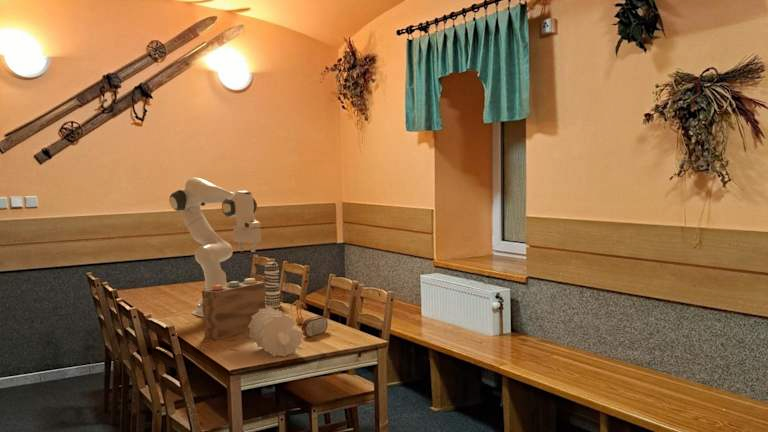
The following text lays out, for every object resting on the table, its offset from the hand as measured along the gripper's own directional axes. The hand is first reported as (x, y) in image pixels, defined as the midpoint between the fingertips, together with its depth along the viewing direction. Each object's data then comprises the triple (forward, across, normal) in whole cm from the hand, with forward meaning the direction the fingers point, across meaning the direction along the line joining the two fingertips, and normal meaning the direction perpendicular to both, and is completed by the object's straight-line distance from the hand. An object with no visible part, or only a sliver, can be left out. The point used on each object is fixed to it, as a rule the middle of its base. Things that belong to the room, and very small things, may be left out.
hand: (247, 251), depth 338 cm
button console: (+38, +2, -11) cm, 39 cm away
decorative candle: (+37, -33, +36) cm, 61 cm away
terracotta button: (+16, +4, -20) cm, 26 cm away
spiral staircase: (+39, +48, -20) cm, 65 cm away
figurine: (+38, +14, +18) cm, 45 cm away
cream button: (+16, +1, -1) cm, 16 cm away
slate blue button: (+16, +3, -11) cm, 19 cm away
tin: (+39, +39, +9) cm, 55 cm away
